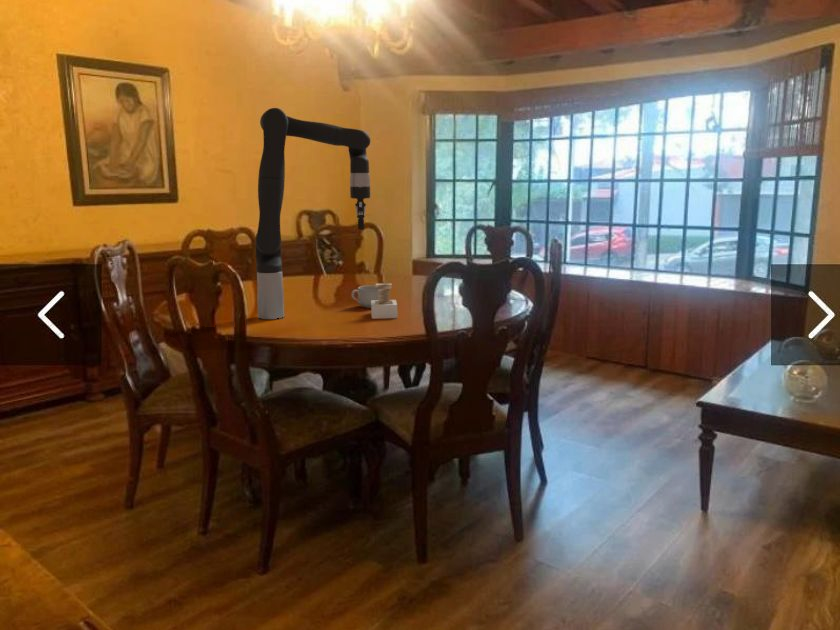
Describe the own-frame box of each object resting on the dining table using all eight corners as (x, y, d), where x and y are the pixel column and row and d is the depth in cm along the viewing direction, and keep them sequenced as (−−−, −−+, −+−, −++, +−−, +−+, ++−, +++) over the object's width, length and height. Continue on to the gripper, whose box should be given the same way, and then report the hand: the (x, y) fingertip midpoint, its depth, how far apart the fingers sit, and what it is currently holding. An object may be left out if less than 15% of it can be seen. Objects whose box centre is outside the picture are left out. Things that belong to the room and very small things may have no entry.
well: (371, 318, 248) (371, 305, 247) (371, 313, 259) (371, 300, 258) (397, 318, 249) (397, 304, 248) (395, 312, 260) (395, 299, 259)
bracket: (376, 316, 252) (375, 285, 249) (376, 314, 256) (375, 283, 253) (392, 316, 252) (391, 284, 250) (391, 314, 256) (391, 283, 254)
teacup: (380, 303, 279) (379, 284, 278) (388, 308, 269) (387, 288, 268) (347, 306, 274) (347, 286, 273) (354, 310, 264) (353, 290, 263)
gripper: (350, 185, 259) (351, 227, 262) (349, 185, 245) (350, 230, 248) (369, 185, 260) (370, 227, 263) (370, 185, 246) (371, 230, 249)
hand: (361, 228), depth 256 cm, fingers open, 8 cm apart
